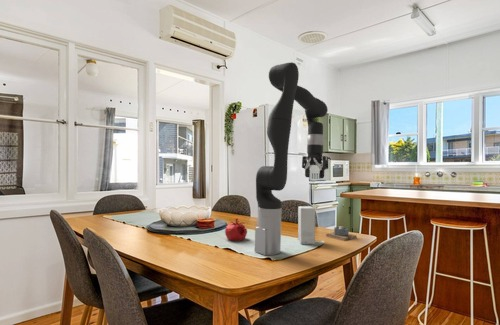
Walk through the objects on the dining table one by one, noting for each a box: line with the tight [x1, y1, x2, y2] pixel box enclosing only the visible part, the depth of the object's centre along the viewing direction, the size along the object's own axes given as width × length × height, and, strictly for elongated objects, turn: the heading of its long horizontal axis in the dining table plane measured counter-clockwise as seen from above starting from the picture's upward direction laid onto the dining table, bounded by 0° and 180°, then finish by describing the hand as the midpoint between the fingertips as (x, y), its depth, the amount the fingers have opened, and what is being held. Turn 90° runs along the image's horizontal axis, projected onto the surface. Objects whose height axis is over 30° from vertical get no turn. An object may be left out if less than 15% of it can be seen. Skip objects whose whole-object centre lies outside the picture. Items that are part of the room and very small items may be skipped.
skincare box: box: [297, 205, 316, 245], centre depth 136 cm, size 8×7×16 cm
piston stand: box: [325, 225, 357, 242], centre depth 148 cm, size 10×10×5 cm
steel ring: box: [333, 226, 350, 236], centre depth 148 cm, size 6×6×3 cm
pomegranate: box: [224, 217, 248, 242], centre depth 138 cm, size 10×10×9 cm
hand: (314, 177), depth 148 cm, fingers open, 8 cm apart
